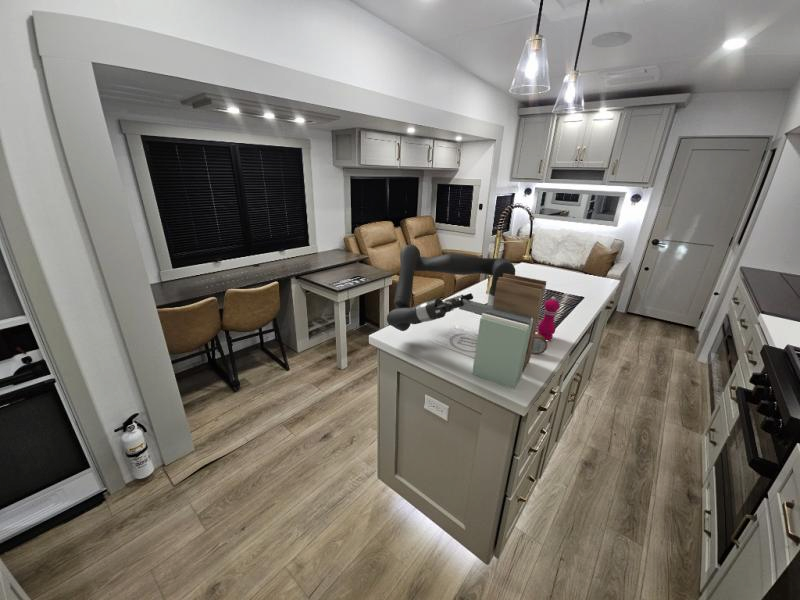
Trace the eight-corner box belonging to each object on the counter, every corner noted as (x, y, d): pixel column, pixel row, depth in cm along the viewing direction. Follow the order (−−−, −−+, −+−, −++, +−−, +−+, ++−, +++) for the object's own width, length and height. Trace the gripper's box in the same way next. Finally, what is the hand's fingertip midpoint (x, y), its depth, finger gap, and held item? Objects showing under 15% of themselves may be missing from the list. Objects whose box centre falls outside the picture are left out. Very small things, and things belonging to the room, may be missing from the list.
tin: (544, 353, 131) (548, 335, 128) (545, 357, 128) (550, 338, 125) (506, 347, 135) (509, 329, 132) (506, 350, 132) (510, 332, 129)
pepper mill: (555, 337, 145) (565, 296, 138) (550, 343, 140) (560, 300, 132) (539, 332, 149) (548, 292, 142) (533, 337, 144) (542, 296, 137)
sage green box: (480, 363, 121) (489, 307, 113) (521, 377, 114) (533, 318, 105) (472, 374, 114) (480, 314, 106) (514, 389, 106) (527, 327, 98)
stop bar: (462, 306, 115) (463, 298, 114) (530, 324, 103) (532, 315, 102) (458, 308, 113) (459, 301, 112) (528, 327, 101) (530, 318, 100)
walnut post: (491, 349, 131) (504, 272, 120) (529, 361, 124) (547, 280, 112) (484, 358, 124) (497, 277, 112) (523, 372, 117) (542, 286, 105)
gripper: (417, 306, 116) (455, 294, 106) (435, 296, 127) (471, 284, 117) (425, 325, 116) (464, 315, 106) (442, 313, 127) (478, 303, 118)
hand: (467, 299), depth 112 cm, fingers open, 8 cm apart
